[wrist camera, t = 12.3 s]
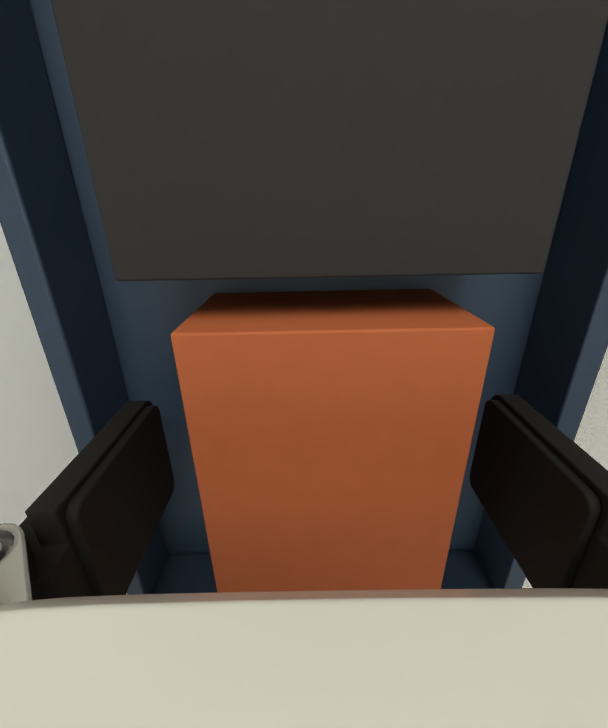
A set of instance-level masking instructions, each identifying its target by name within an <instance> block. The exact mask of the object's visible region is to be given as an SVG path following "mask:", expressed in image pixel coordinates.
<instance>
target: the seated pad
mask: <svg viewBox="0 0 608 728" xmlns="http://www.w3.org/2000/svg"><path fill="white" fill-rule="evenodd" d="M51 4H52V9H53V13H54V17H55V22H56V26H57V30H58V35H59V39H60V43H61V47H62V52H63V56H64V60H65V65H66V69H67V73H68V78H69V82H70V86H71V91H72V95H73V99H74V104H75V108H76V112H77V116H78V121H79V125H80V129H81V134H82V138H83V142H84V147H85V151H86V155H87V160H88V164H89V168H90V173H91V177H92V181H93V185H94V190H95V194H96V198H97V203H98V207H99V211H100V216H101V220H102V224H103V229H104V233H105V237H106V242H107V246H108V250H109V254H110V259H111V263H112V267H113V272H114V276H115V279H116V281H161V280H216V279H271V278H325V277H380V276H435V275H490V274H540V273H543V271H544V268H545V264H546V260H547V256H548V252H549V248H550V244H551V240H552V236H553V232H554V228H555V224H556V220H557V217H558V213H559V209H560V205H561V201H562V197H563V193H564V189H565V185H566V181H567V177H568V173H569V169H570V165H571V161H572V157H573V153H574V149H575V145H576V141H577V137H578V133H579V129H580V125H581V121H582V117H583V114H584V110H585V106H586V102H587V98H588V94H589V90H590V86H591V82H592V78H593V74H594V70H595V66H596V62H597V58H598V54H599V50H600V46H601V42H602V38H603V34H604V30H605V26H606V22H607V18H608V0H51Z"/></svg>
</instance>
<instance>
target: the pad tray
mask: <svg viewBox="0 0 608 728" xmlns="http://www.w3.org/2000/svg"><path fill="white" fill-rule="evenodd" d="M0 223H1V226H2V229H3V232H4V235H5V238H6V241H7V243H8V246H9V249H10V252H11V255H12V258H13V261H14V264H15V267H16V270H17V273H18V276H19V279H20V282H21V285H22V288H23V290H24V293H25V296H26V299H27V302H28V305H29V308H30V311H31V314H32V317H33V320H34V323H35V326H36V329H37V332H38V335H39V337H40V340H41V343H42V346H43V349H44V352H45V355H46V358H47V361H48V364H49V367H50V370H51V373H52V376H53V379H54V382H55V384H56V387H57V390H58V393H59V396H60V399H61V402H62V405H63V408H64V411H65V414H66V417H67V420H68V423H69V426H70V429H71V431H72V434H73V437H74V440H75V443H76V446H77V449H78V452H79V453H80V452H81V451H82V450H83V449H84V448H85V446H86V445H87V444H88V443H89V442H90V441H91V440H92V439H93V438H94V437H95V436H96V435H97V434H98V432H99V431H100V430H101V429H102V428H103V427H104V426H105V425H106V424H107V423H108V422H109V421H110V419H111V418H112V417H113V416H114V415H115V414H116V413H117V412H118V411H119V410H120V409H121V408H122V407H123V405H124V404H125V403H126V402H128V401H151V402H152V404H153V406H158V408H159V410H160V415H161V419H162V424H163V429H164V433H165V438H166V443H167V448H168V452H169V457H170V462H171V466H172V471H173V476H174V490H173V493H172V496H171V498H170V500H169V502H168V504H167V506H166V508H165V511H164V513H163V515H162V517H161V519H160V521H159V524H158V526H157V528H156V530H155V532H154V534H153V537H152V539H151V541H150V543H149V545H148V547H147V550H146V552H145V554H144V556H143V558H142V560H141V562H140V565H139V567H138V569H137V571H136V573H135V575H134V578H133V580H132V582H131V584H130V586H129V588H128V591H127V595H136V594H173V593H217V587H216V582H215V576H214V571H213V565H212V560H211V554H210V549H209V543H208V538H207V532H206V527H205V521H204V516H203V510H202V505H201V499H200V494H199V488H198V483H197V477H196V472H195V466H194V461H193V456H192V450H191V445H190V439H189V434H188V428H187V423H186V417H185V412H184V406H183V401H182V395H181V390H180V384H179V379H178V373H177V368H176V362H175V357H174V351H173V346H172V340H171V333H172V332H173V331H174V330H175V329H177V328H178V327H179V326H180V325H181V324H182V323H183V322H184V321H185V320H186V319H187V318H188V317H190V316H191V315H192V314H193V313H194V312H195V311H196V310H197V309H198V308H199V307H200V306H201V305H202V304H204V303H205V302H206V301H207V300H208V299H209V298H210V297H211V296H212V295H213V294H215V293H248V292H298V291H349V290H400V289H432V290H434V291H435V292H437V293H439V294H440V295H442V296H444V297H445V298H447V299H449V300H450V301H452V302H453V303H455V304H457V305H458V306H460V307H462V308H463V309H465V310H467V311H468V312H470V313H471V314H473V315H475V316H476V317H478V318H480V319H481V320H483V321H485V322H486V323H488V324H489V325H491V326H493V327H494V328H495V332H494V336H493V341H492V346H491V351H490V355H489V360H488V365H487V370H486V374H485V379H484V384H483V389H482V394H481V398H480V403H479V408H478V413H477V417H476V422H475V427H474V432H473V437H472V441H471V446H470V451H469V456H468V460H467V465H466V470H465V475H464V479H463V484H462V489H461V494H460V499H459V503H458V508H457V513H456V518H455V522H454V527H453V532H452V537H451V541H450V546H449V551H448V556H447V561H446V565H445V570H444V575H443V580H442V584H441V589H516V588H522V586H523V583H524V580H525V578H526V576H525V574H524V573H523V571H522V569H521V568H520V566H519V564H518V563H517V561H516V559H515V558H514V556H513V555H512V553H511V551H510V550H509V548H508V546H507V545H506V543H505V541H504V540H503V538H502V537H501V535H500V533H499V532H498V530H497V528H496V527H495V525H494V523H493V522H492V520H491V519H490V517H489V515H488V514H487V512H486V510H485V509H484V507H483V505H482V504H481V502H480V501H479V499H478V497H477V496H476V494H475V492H474V491H473V489H472V487H471V484H470V479H469V476H470V470H471V466H472V461H473V457H474V452H475V447H476V443H477V438H478V434H479V429H480V424H481V420H482V415H483V411H484V406H485V403H486V401H488V400H491V398H492V397H493V396H494V395H509V394H516V395H519V396H520V397H521V398H523V399H524V400H525V401H526V402H527V403H529V404H530V405H531V406H532V407H533V408H534V409H536V410H537V411H538V412H539V413H540V414H541V415H543V416H544V417H545V418H546V419H547V420H549V421H550V422H551V423H552V424H553V425H554V426H556V427H557V428H558V429H559V430H560V431H561V432H563V433H564V434H565V435H566V436H567V437H568V438H570V439H571V440H572V441H573V442H574V439H575V436H576V434H577V431H578V428H579V425H580V422H581V419H582V417H583V414H584V411H585V408H586V405H587V402H588V400H589V397H590V394H591V391H592V388H593V385H594V383H595V380H596V377H597V374H598V371H599V369H600V366H601V363H602V360H603V357H604V354H605V352H606V349H607V346H608V18H607V22H606V26H605V30H604V34H603V38H602V42H601V46H600V50H599V54H598V58H597V62H596V66H595V70H594V74H593V78H592V82H591V86H590V90H589V94H588V98H587V102H586V106H585V110H584V114H583V117H582V121H581V125H580V129H579V133H578V137H577V141H576V145H575V149H574V153H573V157H572V161H571V165H570V169H569V173H568V177H567V181H566V185H565V189H564V193H563V197H562V201H561V205H560V209H559V213H558V217H557V220H556V224H555V228H554V232H553V236H552V240H551V244H550V248H549V252H548V256H547V260H546V264H545V268H544V271H543V273H540V274H490V275H435V276H380V277H325V278H271V279H216V280H161V281H116V279H115V276H114V272H113V267H112V263H111V259H110V254H109V250H108V246H107V242H106V237H105V233H104V229H103V224H102V220H101V216H100V211H99V207H98V203H97V198H96V194H95V190H94V185H93V181H92V177H91V173H90V168H89V164H88V160H87V155H86V151H85V147H84V142H83V138H82V134H81V129H80V125H79V121H78V116H77V112H76V108H75V104H74V99H73V95H72V91H71V86H70V82H69V78H68V73H67V69H66V65H65V60H64V56H63V52H62V47H61V43H60V39H59V35H58V30H57V26H56V22H55V17H54V13H53V9H52V4H51V0H0Z"/></svg>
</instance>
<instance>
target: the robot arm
mask: <svg viewBox="0 0 608 728" xmlns="http://www.w3.org/2000/svg"><path fill="white" fill-rule="evenodd" d="M469 479H470V484H471V487H472V489H473V491H474V492H475V494H476V496H477V497H478V499H479V501H480V502H481V504H482V505H483V507H484V509H485V510H486V512H487V514H488V515H489V517H490V519H491V520H492V522H493V523H494V525H495V527H496V528H497V530H498V532H499V533H500V535H501V537H502V538H503V540H504V541H505V543H506V545H507V546H508V548H509V550H510V551H511V553H512V555H513V556H514V558H515V559H516V561H517V563H518V564H519V566H520V568H521V569H522V571H523V573H524V574H525V576H526V577H527V579H528V581H529V582H530V584H531V586H532V587H533V588H516V589H408V590H335V591H271V592H222V593H173V594H136V595H126V593H127V591H128V588H129V586H130V584H131V582H132V580H133V578H134V575H135V573H136V571H137V569H138V567H139V565H140V562H141V560H142V558H143V556H144V554H145V552H146V550H147V547H148V545H149V543H150V541H151V539H152V537H153V534H154V532H155V530H156V528H157V526H158V524H159V521H160V519H161V517H162V515H163V513H164V511H165V508H166V506H167V504H168V502H169V500H170V498H171V496H172V493H173V490H174V476H173V471H172V466H171V462H170V457H169V452H168V448H167V443H166V438H165V433H164V429H163V424H162V419H161V415H160V410H159V408H158V406H153V404H152V402H151V401H128V402H126V403H125V404H124V405H123V407H122V408H121V409H120V410H119V411H118V412H117V413H116V414H115V415H114V416H113V417H112V418H111V419H110V421H109V422H108V423H107V424H106V425H105V426H104V427H103V428H102V429H101V430H100V431H99V432H98V434H97V435H96V436H95V437H94V438H93V439H92V440H91V441H90V442H89V443H88V444H87V445H86V446H85V448H84V449H83V450H82V451H81V452H80V453H79V454H78V455H77V456H76V457H75V458H74V459H73V460H72V462H71V463H70V464H69V465H68V466H67V467H66V468H65V469H64V470H63V471H62V472H61V473H60V475H59V476H58V477H57V478H56V479H55V480H54V481H53V482H52V483H51V484H50V485H49V486H48V487H47V489H46V490H45V491H44V492H43V493H42V494H41V495H40V496H39V497H38V498H37V499H36V500H35V502H34V503H33V504H32V505H31V506H30V507H29V508H28V509H27V510H26V511H25V513H26V515H27V518H26V519H25V520H24V521H23V522H22V523H21V524H20V526H17V525H15V524H7V523H3V524H0V728H608V471H607V470H606V469H605V468H604V467H603V466H601V465H600V464H599V463H598V462H597V461H596V460H594V459H593V458H592V457H591V456H590V455H588V454H587V453H586V452H585V451H584V450H583V449H581V448H580V447H579V446H578V445H577V444H576V443H574V442H573V441H572V440H571V439H570V438H568V437H567V436H566V435H565V434H564V433H563V432H561V431H560V430H559V429H558V428H557V427H556V426H554V425H553V424H552V423H551V422H550V421H549V420H547V419H546V418H545V417H544V416H543V415H541V414H540V413H539V412H538V411H537V410H536V409H534V408H533V407H532V406H531V405H530V404H529V403H527V402H526V401H525V400H524V399H523V398H521V397H520V396H519V395H516V394H509V395H494V396H493V397H492V398H491V400H488V401H486V403H485V406H484V411H483V415H482V420H481V424H480V429H479V434H478V438H477V443H476V447H475V452H474V457H473V461H472V466H471V470H470V476H469Z"/></svg>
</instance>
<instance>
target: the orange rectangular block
mask: <svg viewBox="0 0 608 728" xmlns="http://www.w3.org/2000/svg"><path fill="white" fill-rule="evenodd" d="M494 332H495V328H494V327H493V326H491V325H489V324H488V323H486V322H485V321H483V320H481V319H480V318H478V317H476V316H475V315H473V314H471V313H470V312H468V311H467V310H465V309H463V308H462V307H460V306H458V305H457V304H455V303H453V302H452V301H450V300H449V299H447V298H445V297H444V296H442V295H440V294H439V293H437V292H435V291H434V290H432V289H400V290H349V291H298V292H248V293H215V294H213V295H212V296H211V297H210V298H209V299H208V300H207V301H206V302H205V303H204V304H202V305H201V306H200V307H199V308H198V309H197V310H196V311H195V312H194V313H193V314H192V315H191V316H190V317H188V318H187V319H186V320H185V321H184V322H183V323H182V324H181V325H180V326H179V327H178V328H177V329H175V330H174V331H173V332H172V333H171V340H172V346H173V351H174V357H175V362H176V368H177V373H178V379H179V384H180V390H181V395H182V401H183V406H184V412H185V417H186V423H187V428H188V434H189V439H190V445H191V450H192V456H193V461H194V466H195V472H196V477H197V483H198V488H199V494H200V499H201V505H202V510H203V516H204V521H205V527H206V532H207V538H208V543H209V549H210V554H211V560H212V565H213V571H214V576H215V582H216V587H217V593H222V592H271V591H335V590H408V589H441V584H442V580H443V575H444V570H445V565H446V561H447V556H448V551H449V546H450V541H451V537H452V532H453V527H454V522H455V518H456V513H457V508H458V503H459V499H460V494H461V489H462V484H463V479H464V475H465V470H466V465H467V460H468V456H469V451H470V446H471V441H472V437H473V432H474V427H475V422H476V417H477V413H478V408H479V403H480V398H481V394H482V389H483V384H484V379H485V374H486V370H487V365H488V360H489V355H490V351H491V346H492V341H493V336H494Z"/></svg>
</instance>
